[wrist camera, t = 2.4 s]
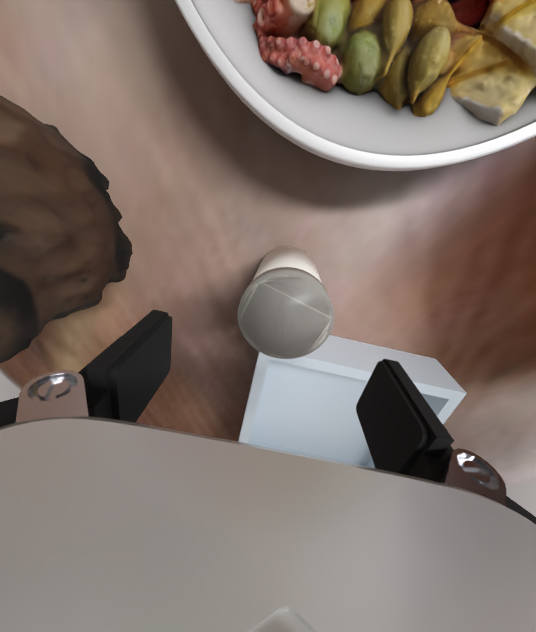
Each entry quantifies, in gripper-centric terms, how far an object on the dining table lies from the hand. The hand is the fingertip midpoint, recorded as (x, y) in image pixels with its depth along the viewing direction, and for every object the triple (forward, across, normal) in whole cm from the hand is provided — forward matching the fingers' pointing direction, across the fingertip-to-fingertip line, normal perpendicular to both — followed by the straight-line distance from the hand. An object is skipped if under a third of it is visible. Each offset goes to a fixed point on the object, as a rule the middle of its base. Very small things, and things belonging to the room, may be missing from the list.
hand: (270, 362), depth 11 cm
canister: (+13, -1, 0) cm, 13 cm away
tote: (+13, -9, +14) cm, 21 cm away
